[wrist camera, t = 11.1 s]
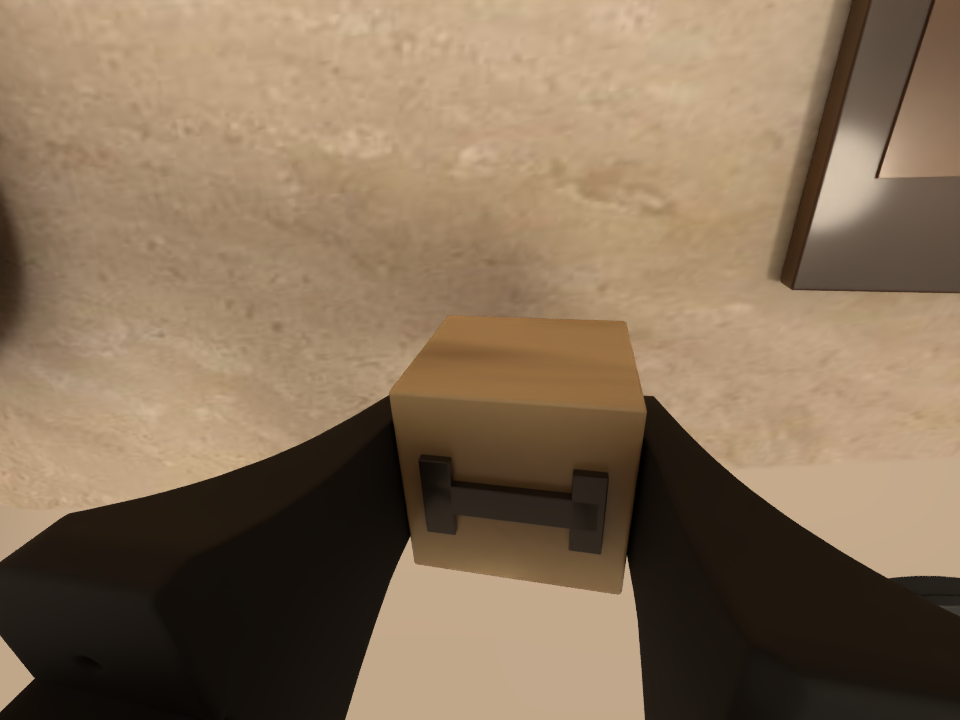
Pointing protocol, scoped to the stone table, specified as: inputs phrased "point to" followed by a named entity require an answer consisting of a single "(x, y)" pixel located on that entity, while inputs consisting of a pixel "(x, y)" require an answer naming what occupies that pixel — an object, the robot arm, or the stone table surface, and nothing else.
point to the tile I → (522, 449)
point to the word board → (886, 158)
